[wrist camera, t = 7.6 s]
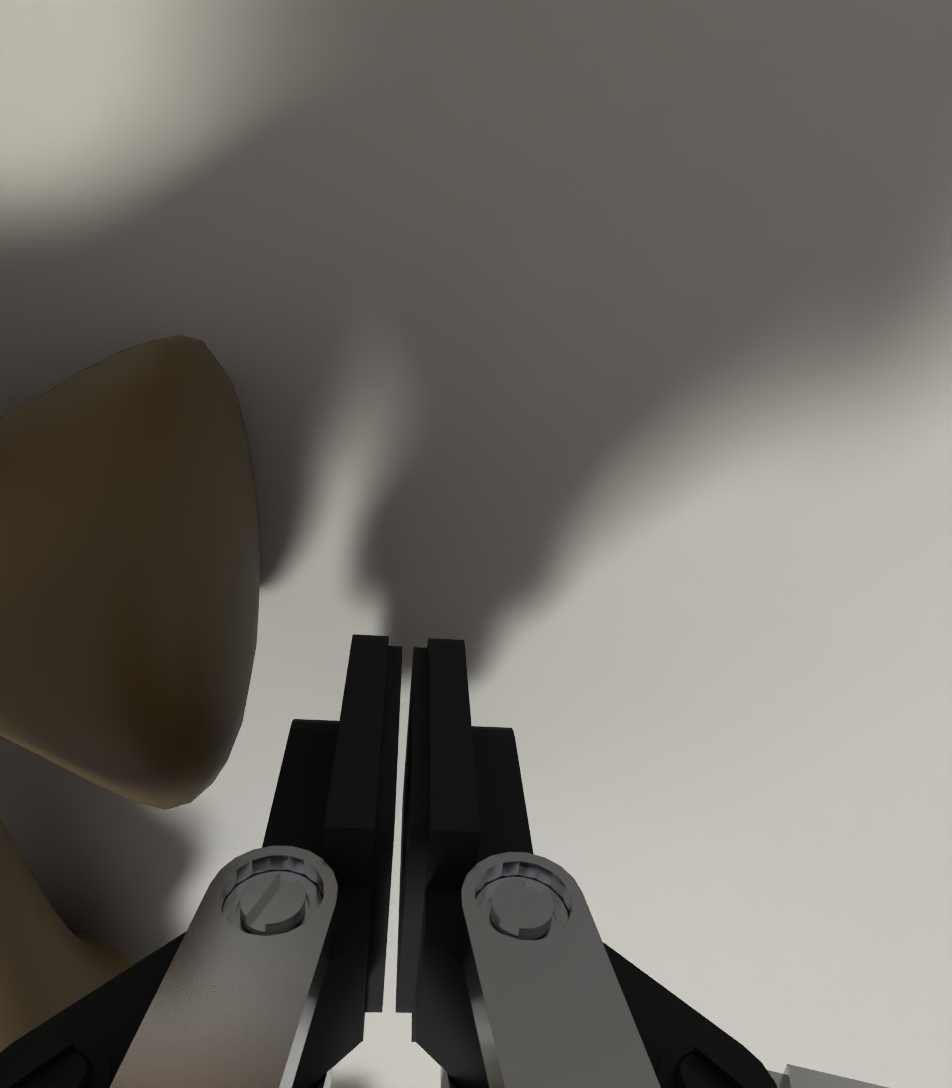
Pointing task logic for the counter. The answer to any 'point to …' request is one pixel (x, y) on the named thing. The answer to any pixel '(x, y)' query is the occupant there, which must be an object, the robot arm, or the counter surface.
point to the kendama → (119, 616)
